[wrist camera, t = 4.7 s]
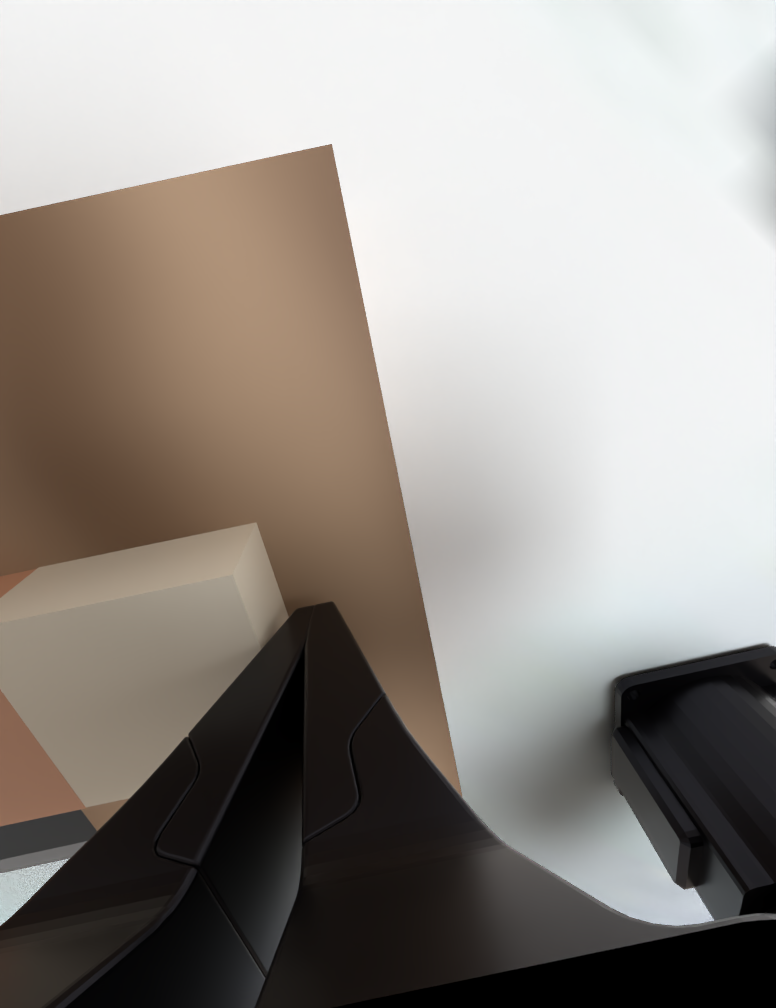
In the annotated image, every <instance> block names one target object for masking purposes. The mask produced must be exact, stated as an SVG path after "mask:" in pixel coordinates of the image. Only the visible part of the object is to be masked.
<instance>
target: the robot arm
mask: <svg viewBox="0 0 776 1008" xmlns="http://www.w3.org/2000/svg"><path fill="white" fill-rule="evenodd" d="M188 736H189V737H185V738H184V739H183V740H182V741H181V742H180V743H179V744H178V746H177V747H176V748H175V749H174V750H173V751H172V753H171V754H170V755H169V756H168V757H167V758H166V759H165V760H164V761H163V763H162V764H161V765H160V766H159V767H158V768H157V769H156V770H155V771H154V773H153V774H152V775H151V776H150V777H149V778H148V779H147V780H146V781H145V783H144V784H143V785H142V786H141V787H140V788H139V789H138V790H137V791H136V792H135V793H134V794H133V795H132V796H131V797H130V798H129V799H128V800H127V801H126V802H125V803H124V804H123V805H122V806H121V808H120V809H119V810H118V811H117V812H116V813H115V814H114V815H113V816H112V817H111V818H110V819H109V820H108V821H107V822H106V823H105V824H104V825H103V826H102V827H101V828H100V829H99V830H98V831H97V832H96V833H95V834H94V835H93V836H92V837H91V838H90V839H89V840H88V841H87V842H86V843H85V844H84V845H83V846H82V847H81V848H80V849H79V850H78V851H77V852H76V853H75V854H74V855H73V856H72V857H71V858H70V859H69V860H68V861H67V862H66V863H65V864H64V865H63V866H62V867H61V868H60V869H59V870H58V871H57V872H56V873H55V874H54V875H53V876H52V877H51V878H50V879H49V880H48V881H47V882H46V883H45V884H44V885H43V886H42V887H41V888H40V889H39V890H38V891H37V892H36V893H35V894H34V895H33V896H32V897H31V898H30V899H29V900H28V901H27V902H26V903H25V904H24V905H23V906H22V907H21V908H20V909H19V910H18V911H17V912H16V913H15V914H14V915H13V916H12V917H10V918H9V919H8V920H7V921H6V922H5V923H3V924H2V925H1V926H0V1008H776V647H774V646H771V647H765V648H760V649H756V650H751V651H746V652H742V653H737V654H732V655H728V656H723V657H719V658H714V659H709V660H705V661H700V662H696V663H691V664H686V665H682V666H677V667H672V668H668V669H663V670H659V671H654V672H649V673H645V674H640V675H636V676H631V677H627V678H624V679H622V680H621V681H620V682H619V683H618V684H617V685H616V688H615V728H614V730H613V733H612V740H611V774H612V776H613V778H614V784H615V786H616V788H617V789H618V791H619V793H620V794H621V795H622V796H624V797H625V799H626V800H627V802H628V804H629V806H630V807H631V809H632V811H633V813H634V814H635V816H636V818H637V819H638V821H639V823H640V825H641V826H642V828H643V830H644V831H645V833H646V835H647V837H648V838H649V840H650V842H651V844H652V845H653V847H654V849H655V850H656V852H657V854H658V856H659V857H660V859H661V861H662V862H663V864H664V866H665V868H666V869H667V871H668V873H669V875H670V876H671V878H672V880H673V881H674V882H675V883H676V884H677V885H679V886H680V887H682V888H683V889H689V888H695V890H696V891H697V893H698V895H699V896H700V898H701V899H702V901H703V903H704V904H705V906H706V908H707V909H708V911H709V913H710V914H711V916H712V917H713V919H714V921H711V922H706V923H701V924H693V925H682V926H672V925H662V924H653V923H649V922H646V921H642V920H638V919H635V918H631V917H629V916H627V915H624V914H622V913H620V912H618V911H616V910H614V909H612V908H610V907H609V906H607V905H605V904H604V903H602V902H600V901H599V900H597V899H595V898H594V897H592V896H590V895H589V894H587V893H585V892H584V891H582V890H580V889H579V888H577V887H576V886H574V885H572V884H571V883H569V882H567V881H566V880H564V879H562V878H561V877H559V876H557V875H556V874H554V873H552V872H551V871H549V870H547V869H546V868H544V867H543V866H541V865H539V864H538V863H536V862H534V861H533V860H531V859H529V858H528V857H526V856H524V855H523V854H521V853H519V852H518V851H516V850H514V849H513V848H511V847H510V846H508V845H507V844H506V843H504V842H503V841H502V840H501V839H500V838H499V837H498V836H497V835H495V834H494V833H493V832H492V831H491V830H490V829H489V828H488V827H487V825H486V824H485V823H484V822H483V821H482V820H481V819H480V818H479V817H478V816H477V814H476V813H475V812H474V811H473V810H472V809H471V807H470V806H469V805H468V804H467V803H466V801H465V800H464V799H463V798H462V796H461V795H460V794H459V793H458V792H457V790H456V789H455V788H454V787H453V786H452V784H451V783H450V782H449V781H448V779H447V778H446V777H445V776H444V775H443V773H442V772H441V771H440V770H439V769H438V767H437V766H436V765H435V764H434V762H433V761H432V760H431V759H430V758H429V756H428V755H427V754H426V753H425V751H424V750H423V749H422V747H421V746H420V745H419V743H418V742H417V741H416V739H415V738H414V737H413V735H412V734H411V733H410V731H409V730H408V729H407V727H406V725H405V724H404V722H403V721H402V719H401V717H400V716H399V714H398V713H397V711H396V710H395V708H394V706H393V704H392V703H391V701H390V699H389V697H388V696H387V695H386V692H385V691H384V689H383V687H382V685H381V684H380V682H379V680H378V678H377V677H376V675H375V673H374V671H373V670H372V668H371V666H370V664H369V662H368V661H367V659H366V657H365V655H364V654H363V652H362V650H361V648H360V647H359V645H358V643H357V641H356V640H355V638H354V636H353V634H352V633H351V631H350V629H349V627H348V626H347V624H346V622H345V620H344V618H343V617H342V615H341V613H340V611H339V610H338V608H337V606H336V604H335V603H334V602H333V601H330V602H325V603H320V604H316V605H311V606H306V607H301V608H297V609H296V610H295V611H294V612H293V613H292V614H291V615H290V617H289V618H288V619H287V620H286V621H285V622H284V624H283V625H282V626H281V627H280V628H279V629H278V630H277V632H276V633H275V634H274V635H273V636H272V637H271V639H270V640H269V641H268V642H267V643H266V644H265V645H264V647H263V648H262V649H261V650H260V651H259V652H258V654H257V655H256V656H255V657H254V658H253V659H252V660H251V662H250V663H249V664H248V665H247V666H246V667H245V669H244V670H243V671H242V672H241V673H240V674H239V675H238V677H237V678H236V679H235V680H234V681H233V682H232V684H231V685H230V686H229V687H228V688H227V689H226V690H225V692H224V693H223V694H222V695H221V696H220V697H219V699H218V700H217V701H216V702H215V703H214V704H213V705H212V707H211V708H210V709H209V710H208V711H207V712H206V714H205V715H204V716H203V717H202V718H201V719H200V720H199V722H198V723H197V724H196V725H195V726H194V727H193V729H192V730H191V731H190V732H189V733H188Z"/></svg>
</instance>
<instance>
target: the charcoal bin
mask: <svg viewBox="0 0 776 1008" xmlns="http://www.w3.org/2000/svg"><path fill="white" fill-rule="evenodd" d="M96 832H97V830H96V829H95V828H94V826H93V825H92V824H91V822H90V821H89V820H88V818H87V817H86V816H85V814H84V813H83V812H82V810H81V809H80V810H76V811H71V812H66V813H61V814H57V815H52V816H47V817H42V818H38V819H33V820H28V821H24V822H19V823H14V824H9V825H5V826H0V873H4V872H8V871H13V870H17V869H22V868H27V867H31V866H36V865H40V864H45V863H50V862H54V861H59V860H63V859H68V858H71V857H72V856H73V855H74V854H75V853H76V852H77V851H78V850H79V849H80V848H81V847H82V846H83V845H84V844H85V843H86V842H87V841H88V840H89V839H90V838H91V837H92V836H93V835H94V834H95V833H96Z"/></svg>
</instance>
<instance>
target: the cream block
mask: <svg viewBox="0 0 776 1008" xmlns="http://www.w3.org/2000/svg"><path fill="white" fill-rule="evenodd" d="M288 618H289V616H288V614H287V611H286V608H285V605H284V602H283V599H282V596H281V593H280V590H279V587H278V584H277V581H276V578H275V576H274V573H273V570H272V567H271V564H270V561H269V558H268V555H267V552H266V549H265V546H264V543H263V540H262V538H261V535H260V532H259V529H258V526H257V523H251V524H246V525H241V526H236V527H231V528H227V529H222V530H217V531H212V532H207V533H202V534H198V535H193V536H188V537H183V538H178V539H174V540H169V541H164V542H159V543H154V544H149V545H145V546H140V547H135V548H130V549H125V550H120V551H116V552H111V553H106V554H101V555H96V556H91V557H87V558H82V559H77V560H72V561H67V562H63V563H58V564H53V565H48V566H43V567H39V568H37V569H36V570H35V571H34V572H32V573H31V574H30V575H29V576H27V577H26V578H25V579H24V580H22V581H21V582H20V583H19V584H17V585H16V586H15V587H14V588H12V589H11V590H10V591H9V592H7V593H6V594H5V595H4V596H2V597H1V598H0V690H1V691H2V693H3V694H4V695H5V697H6V698H7V699H8V701H9V702H10V704H11V705H12V706H13V708H14V709H15V711H16V712H17V713H18V715H19V716H20V717H21V719H22V720H23V722H24V723H25V724H26V726H27V727H28V728H29V730H30V731H31V733H32V734H33V735H34V737H35V738H36V739H37V741H38V742H39V744H40V745H41V746H42V748H43V749H44V751H45V752H46V753H47V755H48V756H49V757H50V759H51V760H52V762H53V763H54V764H55V766H56V767H57V768H58V770H59V771H60V773H61V774H62V775H63V777H64V778H65V779H66V781H67V782H68V784H69V785H70V786H71V788H72V789H73V791H74V792H75V793H76V795H77V796H78V797H79V799H80V800H81V802H82V803H83V804H84V806H85V807H91V806H95V805H100V804H105V803H110V802H114V801H119V800H124V799H129V798H130V797H131V796H132V795H133V794H134V793H135V792H136V791H137V790H138V789H139V788H140V787H141V786H142V785H143V784H144V783H145V781H146V780H147V779H148V778H149V777H150V776H151V775H152V774H153V773H154V771H155V770H156V769H157V768H158V767H159V766H160V765H161V764H162V763H163V761H164V760H165V759H166V758H167V757H168V756H169V755H170V754H171V753H172V751H173V750H174V749H175V748H176V747H177V746H178V744H179V743H180V742H181V741H182V740H183V739H184V738H185V737H189V736H188V733H189V732H190V731H191V730H192V729H193V727H194V726H195V725H196V724H197V723H198V722H199V720H200V719H201V718H202V717H203V716H204V715H205V714H206V712H207V711H208V710H209V709H210V708H211V707H212V705H213V704H214V703H215V702H216V701H217V700H218V699H219V697H220V696H221V695H222V694H223V693H224V692H225V690H226V689H227V688H228V687H229V686H230V685H231V684H232V682H233V681H234V680H235V679H236V678H237V677H238V675H239V674H240V673H241V672H242V671H243V670H244V669H245V667H246V666H247V665H248V664H249V663H250V662H251V660H252V659H253V658H254V657H255V656H256V655H257V654H258V652H259V651H260V650H261V649H262V648H263V647H264V645H265V644H266V643H267V642H268V641H269V640H270V639H271V637H272V636H273V635H274V634H275V633H276V632H277V630H278V629H279V628H280V627H281V626H282V625H283V624H284V622H285V621H286V620H287V619H288Z"/></svg>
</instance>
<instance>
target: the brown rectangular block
mask: <svg viewBox="0 0 776 1008" xmlns="http://www.w3.org/2000/svg"><path fill="white" fill-rule="evenodd" d="M251 523H257V526H258V529H259V532H260V535H261V538H262V540H263V543H264V546H265V549H266V552H267V555H268V558H269V561H270V564H271V567H272V570H273V573H274V576H275V578H276V581H277V584H278V587H279V590H280V593H281V596H282V599H283V602H284V605H285V608H286V611H287V614H288V616H289V617H290V615H291V614H292V613H293V612H294V611H295V610H296V609H297V608H301V607H306V606H311V605H316V604H320V603H325V602H330V601H333V602H334V603H335V604H336V606H337V608H338V610H339V611H340V613H341V615H342V617H343V618H344V620H345V622H346V624H347V626H348V627H349V629H350V631H351V633H352V634H353V636H354V638H355V640H356V641H357V643H358V645H359V647H360V648H361V650H362V652H363V654H364V655H365V657H366V659H367V661H368V662H369V664H370V666H371V668H372V670H373V671H374V673H375V675H376V677H377V678H378V680H379V682H380V684H381V685H382V687H383V689H384V691H385V692H386V695H387V696H388V697H389V699H390V701H391V703H392V704H393V706H394V708H395V710H396V711H397V713H398V714H399V716H400V717H401V719H402V721H403V722H404V724H405V725H406V727H407V729H408V730H409V731H410V733H411V734H412V735H413V737H414V738H415V739H416V741H417V742H418V743H419V745H420V746H421V747H422V749H423V750H424V751H425V753H426V754H427V755H428V756H429V758H430V759H431V760H432V761H433V762H434V764H435V765H436V766H437V767H438V769H439V770H440V771H441V772H442V773H443V775H444V776H445V777H446V778H447V779H448V781H449V782H450V783H451V784H452V786H453V787H454V788H455V789H456V790H457V792H458V793H459V794H460V795H461V796H462V793H461V788H460V783H459V778H458V773H457V768H456V763H455V758H454V753H453V748H452V743H451V738H450V733H449V728H448V723H447V718H446V713H445V708H444V703H443V698H442V693H441V688H440V683H439V678H438V673H437V668H436V663H435V658H434V653H433V648H432V643H431V638H430V633H429V628H428V623H427V618H426V613H425V608H424V603H423V598H422V593H421V588H420V583H419V578H418V573H417V568H416V563H415V558H414V553H413V548H412V543H411V538H410V533H409V528H408V523H407V518H406V513H405V508H404V503H403V498H402V493H401V488H400V483H399V478H398V473H397V468H396V463H395V458H394V453H393V448H392V443H391V438H390V433H389V428H388V423H387V418H386V413H385V408H384V403H383V398H382V393H381V388H380V383H379V378H378V373H377V368H376V363H375V358H374V353H373V348H372V343H371V338H370V333H369V328H368V323H367V318H366V313H365V308H364V303H363V298H362V293H361V288H360V283H359V278H358V273H357V268H356V263H355V258H354V253H353V248H352V243H351V238H350V233H349V228H348V223H347V218H346V213H345V208H344V203H343V198H342V193H341V188H340V183H339V178H338V173H337V168H336V163H335V158H334V153H333V148H332V144H330V145H325V146H320V147H316V148H311V149H306V150H302V151H297V152H292V153H288V154H283V155H278V156H274V157H269V158H264V159H260V160H255V161H251V162H246V163H241V164H237V165H232V166H227V167H223V168H218V169H213V170H209V171H204V172H199V173H195V174H190V175H185V176H181V177H176V178H172V179H167V180H162V181H158V182H153V183H148V184H144V185H139V186H134V187H130V188H125V189H120V190H116V191H111V192H106V193H102V194H97V195H93V196H88V197H83V198H79V199H74V200H69V201H65V202H60V203H55V204H51V205H46V206H41V207H37V208H32V209H27V210H23V211H18V212H14V213H9V214H4V215H0V576H4V575H9V574H14V573H19V572H24V571H28V570H33V569H37V568H39V567H43V566H48V565H53V564H58V563H63V562H67V561H72V560H77V559H82V558H87V557H91V556H96V555H101V554H106V553H111V552H116V551H120V550H125V549H130V548H135V547H140V546H145V545H149V544H154V543H159V542H164V541H169V540H174V539H178V538H183V537H188V536H193V535H198V534H202V533H207V532H212V531H217V530H222V529H227V528H231V527H236V526H241V525H246V524H251ZM127 800H128V799H124V800H119V801H114V802H110V803H105V804H100V805H95V806H91V807H87V808H85V809H81V810H82V812H83V813H84V814H85V816H86V817H87V818H88V820H89V821H90V822H91V824H92V825H93V826H94V828H95V829H96V830H97V831H98V830H99V829H100V828H101V827H102V826H103V825H104V824H105V823H106V822H107V821H108V820H109V819H110V818H111V817H112V816H113V815H114V814H115V813H116V812H117V811H118V810H119V809H120V808H121V806H122V805H123V804H124V803H125V802H126V801H127Z"/></svg>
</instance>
